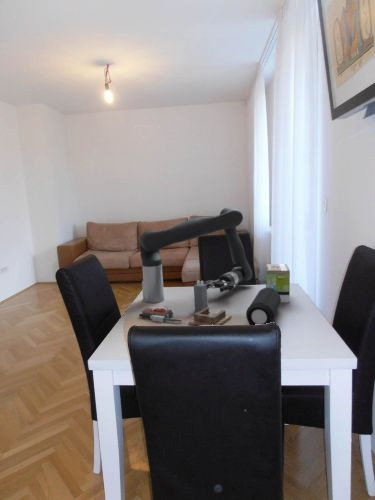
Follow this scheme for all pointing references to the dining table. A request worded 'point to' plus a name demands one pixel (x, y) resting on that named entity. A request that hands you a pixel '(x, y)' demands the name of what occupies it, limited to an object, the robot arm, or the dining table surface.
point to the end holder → (209, 318)
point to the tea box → (279, 280)
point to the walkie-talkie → (158, 314)
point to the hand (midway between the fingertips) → (212, 289)
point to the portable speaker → (263, 307)
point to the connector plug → (200, 296)
